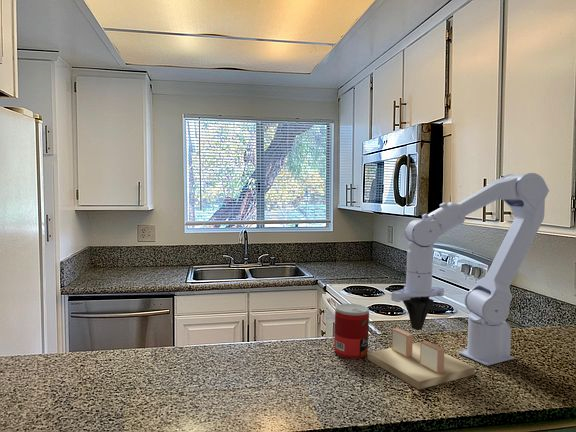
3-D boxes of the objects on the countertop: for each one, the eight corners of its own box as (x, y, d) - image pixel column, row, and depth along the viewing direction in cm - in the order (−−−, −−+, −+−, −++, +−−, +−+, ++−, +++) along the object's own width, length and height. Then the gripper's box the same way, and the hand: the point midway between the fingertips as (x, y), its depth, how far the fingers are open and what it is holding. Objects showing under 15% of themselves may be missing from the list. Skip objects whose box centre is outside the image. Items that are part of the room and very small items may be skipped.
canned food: (367, 361, 94) (369, 313, 93) (332, 357, 95) (333, 311, 95) (368, 348, 101) (369, 304, 100) (335, 345, 103) (336, 302, 102)
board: (419, 348, 102) (419, 342, 102) (474, 374, 88) (474, 367, 88) (367, 359, 95) (367, 352, 95) (418, 389, 80) (418, 381, 80)
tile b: (425, 363, 89) (426, 340, 89) (443, 372, 85) (444, 348, 84) (419, 364, 88) (420, 341, 88) (437, 373, 84) (438, 349, 84)
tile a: (396, 348, 97) (397, 327, 97) (412, 356, 93) (412, 334, 92) (391, 349, 96) (392, 328, 96) (406, 357, 92) (407, 335, 92)
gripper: (429, 266, 102) (426, 319, 103) (383, 270, 96) (381, 327, 97) (451, 271, 96) (449, 328, 97) (404, 276, 90) (402, 337, 90)
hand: (416, 328), depth 96 cm, fingers closed
